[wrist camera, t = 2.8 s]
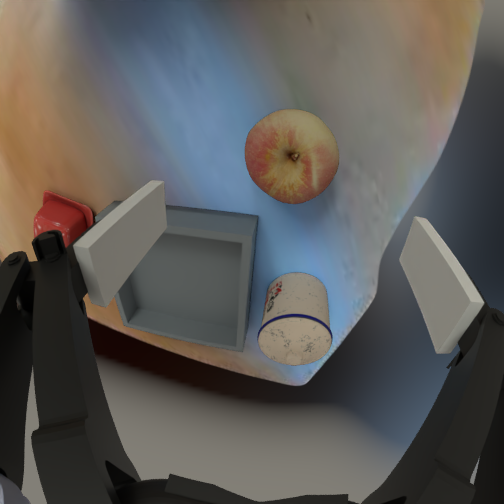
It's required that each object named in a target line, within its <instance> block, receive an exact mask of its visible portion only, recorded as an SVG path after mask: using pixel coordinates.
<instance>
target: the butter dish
mask: <svg viewBox="0 0 504 504" xmlns="http://www.w3.org/2000/svg"><path fill="white" fill-rule="evenodd" d="M92 224H93V213H92V210H91V209H90V208H89V207H88V206H86V205H83V204H81V203H78V202H76V201H73V200H71V199H68V198H65V197H63V196H60V195H58V194H56V193H53V192H51V191H44V193H43V207H42V208H41V209H40V210H39V211H38V213H37V214H36V216H35V218H34V238H35V237H36V236H38V235H39V234H41V233H43V232H46V231H49V230H59V231H61V233H62V236H63V240H64V243H65V247H67V246H68V245H70V244H71V243H72V242H73V241H74V240H75V239H76V238H77V237H78V236H81V234H82V233H83V232H84V231H86V229H87V228H89V227H90V226H91V225H92Z"/></svg>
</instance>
